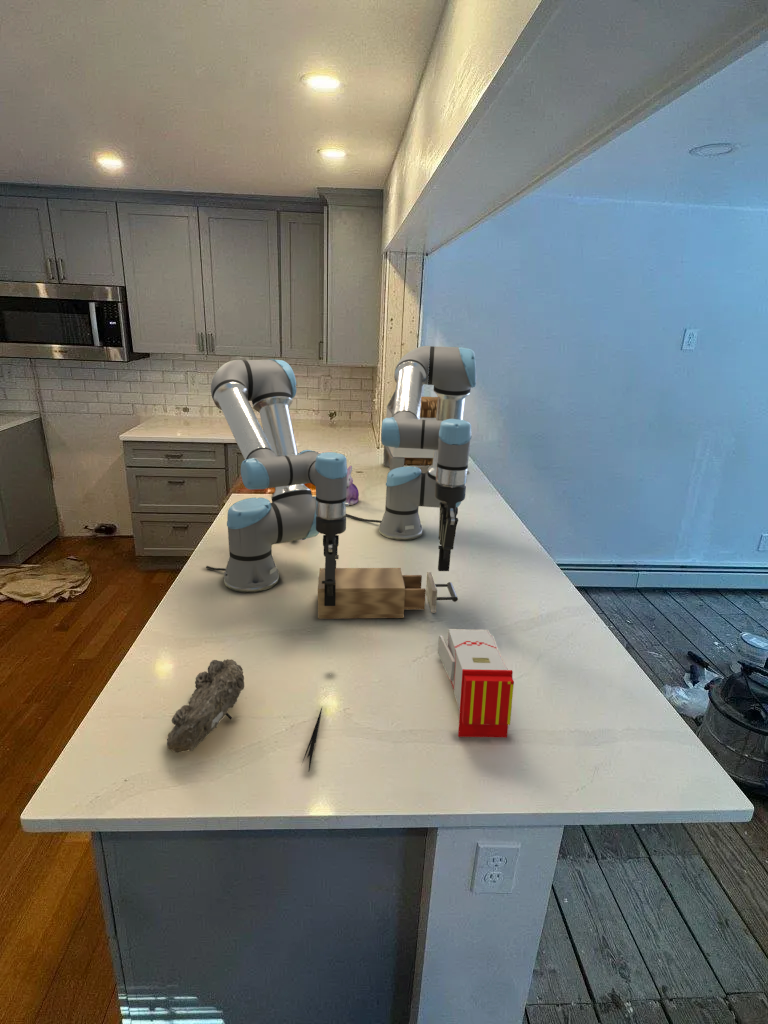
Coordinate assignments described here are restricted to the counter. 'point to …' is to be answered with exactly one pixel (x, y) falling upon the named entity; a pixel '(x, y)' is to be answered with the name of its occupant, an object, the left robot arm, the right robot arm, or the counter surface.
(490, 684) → the toy
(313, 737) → the feather
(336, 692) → the counter surface
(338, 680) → the counter surface
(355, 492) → the figurine
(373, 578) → the cabinet
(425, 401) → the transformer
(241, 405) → the left robot arm
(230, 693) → the fossil
